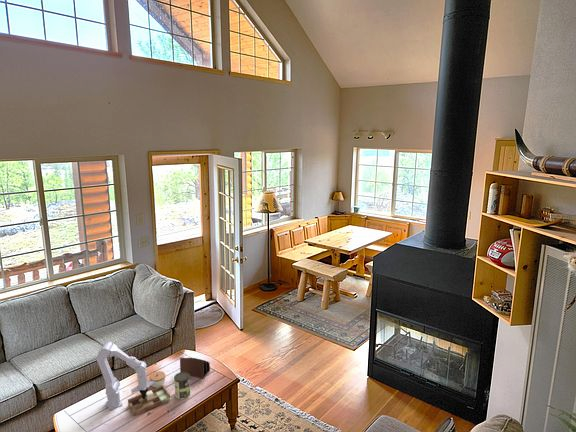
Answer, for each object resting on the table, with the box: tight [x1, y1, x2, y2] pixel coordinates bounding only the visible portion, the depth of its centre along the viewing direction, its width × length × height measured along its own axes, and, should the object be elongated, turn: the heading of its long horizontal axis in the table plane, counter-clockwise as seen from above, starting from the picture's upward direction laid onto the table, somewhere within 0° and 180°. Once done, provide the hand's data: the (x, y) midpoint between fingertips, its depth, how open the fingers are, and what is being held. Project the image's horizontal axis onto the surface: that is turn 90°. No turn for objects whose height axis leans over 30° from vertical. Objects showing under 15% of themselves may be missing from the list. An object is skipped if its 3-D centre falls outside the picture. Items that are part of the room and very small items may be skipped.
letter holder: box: [179, 357, 211, 379], centre depth 291 cm, size 10×20×14 cm, turn 73°
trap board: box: [127, 385, 171, 416], centre depth 259 cm, size 12×24×4 cm, turn 128°
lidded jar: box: [149, 370, 166, 389], centre depth 276 cm, size 11×11×9 cm
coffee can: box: [173, 371, 191, 400], centre depth 266 cm, size 10×10×14 cm
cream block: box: [146, 389, 154, 401], centre depth 260 cm, size 4×4×4 cm
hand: (143, 398), depth 259 cm, fingers closed
